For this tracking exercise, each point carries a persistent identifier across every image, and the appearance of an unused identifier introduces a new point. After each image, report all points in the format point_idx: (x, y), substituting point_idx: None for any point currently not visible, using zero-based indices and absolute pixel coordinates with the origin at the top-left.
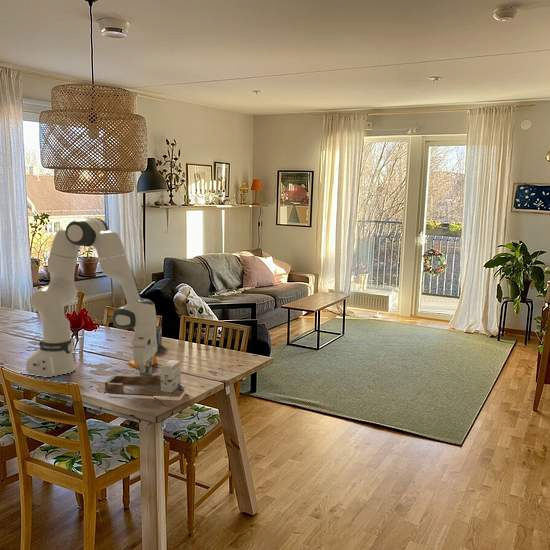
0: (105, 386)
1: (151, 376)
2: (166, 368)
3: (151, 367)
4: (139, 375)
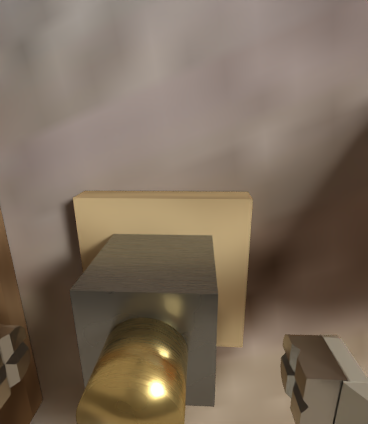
0: None
1: None
2: None
3: (197, 391)
4: (176, 210)
